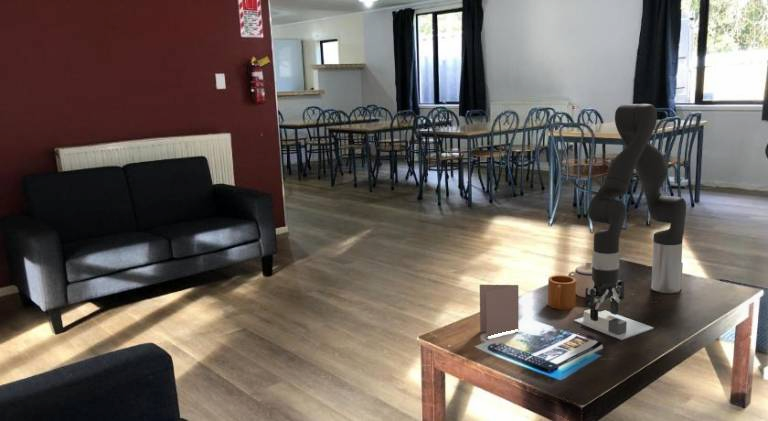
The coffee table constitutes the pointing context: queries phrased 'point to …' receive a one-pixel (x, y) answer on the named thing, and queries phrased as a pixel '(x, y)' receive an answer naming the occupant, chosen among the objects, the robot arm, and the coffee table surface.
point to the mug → (561, 292)
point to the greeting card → (498, 308)
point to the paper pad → (631, 326)
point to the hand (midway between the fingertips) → (604, 317)
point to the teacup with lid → (583, 278)
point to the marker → (606, 322)
